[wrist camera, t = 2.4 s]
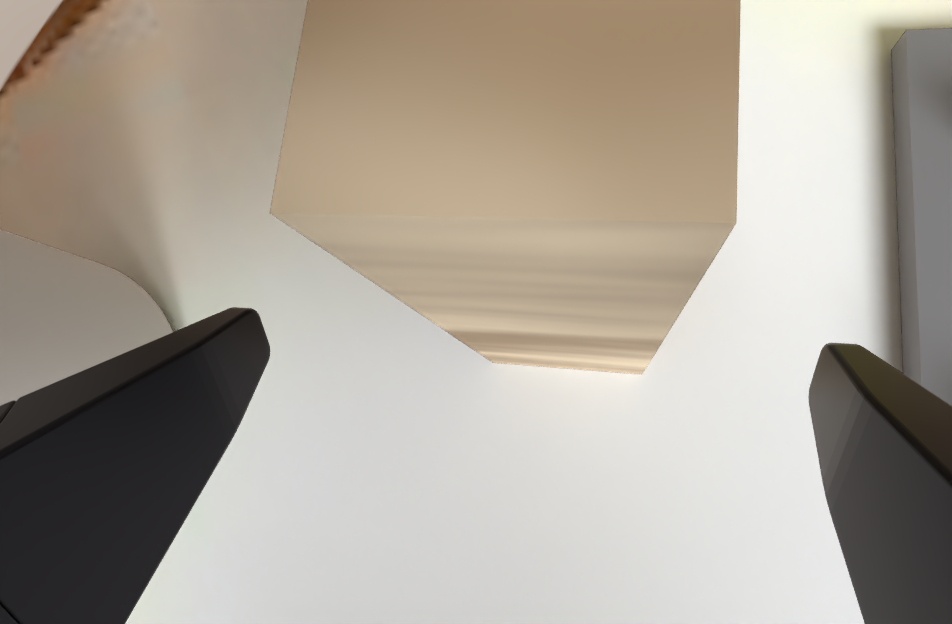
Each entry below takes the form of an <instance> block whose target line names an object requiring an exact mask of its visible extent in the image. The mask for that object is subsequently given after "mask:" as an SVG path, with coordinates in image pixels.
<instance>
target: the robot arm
mask: <svg viewBox="0 0 952 624" xmlns="http://www.w3.org/2000/svg"><path fill="white" fill-rule="evenodd" d="M269 357H270V346H269V342H268V339H267V336H266V333H265V331H264V328H263V325H262V322H261V319H260V316H259V314H258V313H257V312H256V311H255V310H254V309H251V308H237V307H233V308H229V309H227V310H224V311H222V312H220V313H217V314H215V315H212V316H210V317H208V318H205V319H203V320H201V321H198V322H196V323H194V324H191V325H189V326H187V327H184V328H182V329H180V330H177V331H175V332H173V333H170V334H168V335H165V336H163V337H161V338H158V339H156V340H154V341H151V342H149V343H147V344H144V345H142V346H140V347H137V348H135V349H133V350H130V351H128V352H125V353H123V354H121V355H118V356H116V357H114V358H111V359H109V360H107V361H104V362H102V363H100V364H97V365H95V366H93V367H90V368H88V369H85V370H83V371H81V372H78V373H76V374H74V375H71V376H69V377H67V378H64V379H62V380H60V381H57V382H55V383H53V384H50V385H48V386H45V387H43V388H41V389H38V390H36V391H34V392H31V393H29V394H27V395H24V396H22V397H20V398H19V399H18V400H17V401H15V400H13V401H10V402H8V403H5V404H3V405H1V406H0V624H125V623H126V621H127V619H128V618H129V616H130V614H131V612H132V611H133V609H134V607H135V605H136V604H137V602H138V600H139V599H140V597H141V595H142V593H143V592H144V590H145V588H146V587H147V585H148V583H149V581H150V580H151V578H152V576H153V574H154V573H155V571H156V569H157V568H158V566H159V564H160V562H161V561H162V559H163V557H164V556H165V554H166V552H167V550H168V549H169V547H170V545H171V544H172V542H173V540H174V538H175V537H176V535H177V533H178V531H179V530H180V528H181V526H182V525H183V523H184V521H185V519H186V518H187V516H188V514H189V513H190V511H191V509H192V507H193V506H194V504H195V502H196V500H197V499H198V497H199V495H200V494H201V492H202V490H203V488H204V487H205V485H206V483H207V482H208V480H209V478H210V476H211V475H212V473H213V471H214V469H215V468H216V466H217V464H218V463H219V461H220V459H221V457H222V456H223V454H224V452H225V451H226V449H227V447H228V445H229V444H230V442H231V440H232V438H233V436H234V435H235V433H236V431H237V429H238V427H239V425H240V423H241V421H242V418H243V416H244V414H245V412H246V410H247V407H248V405H249V403H250V401H251V398H252V396H253V394H254V392H255V390H256V387H257V385H258V383H259V381H260V378H261V376H262V374H263V372H264V369H265V367H266V365H267V363H268V360H269ZM809 406H810V412H811V418H812V424H813V429H814V435H815V441H816V447H817V452H818V458H819V464H820V469H821V475H822V481H823V486H824V491H825V496H826V500H827V503H828V507H829V510H830V514H831V517H832V520H833V524H834V527H835V530H836V533H837V536H838V540H839V543H840V546H841V549H842V552H843V555H844V559H845V562H846V565H847V568H848V571H849V575H850V578H851V581H852V584H853V587H854V591H855V594H856V597H857V600H858V603H859V607H860V610H861V613H862V616H863V619H864V623H865V624H952V406H951V405H950V404H948V403H947V402H945V401H944V400H942V399H941V398H939V397H938V396H936V395H935V394H933V393H932V392H930V391H929V390H927V389H926V388H924V387H923V386H921V385H920V384H918V383H917V382H915V381H914V380H912V379H911V378H909V377H908V376H906V375H904V374H903V373H901V372H900V371H898V370H897V369H895V368H894V367H892V366H891V365H889V364H888V363H886V362H885V361H883V360H882V359H880V358H879V357H877V356H876V355H874V354H873V353H871V352H870V351H868V350H867V349H865V348H864V347H862V346H860V345H857V344H844V343H828V344H826V345H825V346H824V347H823V348H822V350H821V353H820V356H819V359H818V362H817V365H816V369H815V372H814V375H813V378H812V381H811V385H810V389H809Z"/></svg>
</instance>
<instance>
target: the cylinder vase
mask: <svg viewBox="0 0 952 624" xmlns="http://www.w3.org/2000/svg"><path fill="white" fill-rule="evenodd" d="M170 333H173V331H172V328H171V326H170V324H169V322H168V320H167V319H166V317H165V315H164V314H163V312H162V310H161V309H160V307H159V306H158V305H157V303H156V302H155V301H154V300H153V298H152V297H151V296H150V295H149V294H148V293H147V292H146V291H145V290H144V289H143V288H142V287H141V286H139V285H138V284H137V283H136V282H135V281H133V280H132V279H130V278H129V277H127V276H126V275H124V274H122V273H121V272H119V271H117V270H115V269H113V268H110V267H108V266H105V265H103V264H100V263H97V262H94V261H91V260H88V259H85V258H83V257H80V256H77V255H74V254H71V253H68V252H65V251H62V250H59V249H56V248H54V247H51V246H48V245H45V244H42V243H39V242H36V241H33V240H30V239H28V238H25V237H22V236H19V235H16V234H13V233H10V232H7V231H4V230H1V229H0V406H1V405H3V404H5V403H8V402H10V401H13V400H15V401H17V400H18V399H19V398H20V397H22V396H24V395H27V394H29V393H31V392H34V391H36V390H38V389H41V388H43V387H45V386H48V385H50V384H53V383H55V382H57V381H60V380H62V379H64V378H67V377H69V376H71V375H74V374H76V373H78V372H81V371H83V370H85V369H88V368H90V367H93V366H95V365H97V364H100V363H102V362H104V361H107V360H109V359H111V358H114V357H116V356H118V355H121V354H123V353H125V352H128V351H130V350H133V349H135V348H137V347H140V346H142V345H144V344H147V343H149V342H151V341H154V340H156V339H158V338H161V337H163V336H165V335H168V334H170Z"/></svg>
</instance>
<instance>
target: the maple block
mask: <svg viewBox="0 0 952 624" xmlns="http://www.w3.org/2000/svg"><path fill="white" fill-rule="evenodd" d="M739 48H740V0H308V2H307V8H306V14H305V19H304V25H303V30H302V36H301V41H300V47H299V52H298V58H297V64H296V69H295V75H294V80H293V86H292V91H291V97H290V103H289V108H288V114H287V119H286V125H285V130H284V136H283V142H282V147H281V153H280V158H279V164H278V169H277V175H276V180H275V186H274V192H273V197H272V203H271V208H270V214H272V215H273V216H275V217H276V218H278V219H279V220H281V221H282V222H284V223H285V224H287V225H288V226H290V227H291V228H293V229H294V230H296V231H297V232H299V233H300V234H302V235H303V236H305V237H306V238H308V239H309V240H311V241H312V242H314V243H315V244H317V245H318V246H319V247H321V248H322V249H324V250H325V251H327V252H328V253H330V254H331V255H333V256H334V257H336V258H337V259H339V260H340V261H342V262H343V263H345V264H346V265H348V266H349V267H351V268H352V269H354V270H355V271H357V272H358V273H360V274H361V275H363V276H364V277H366V278H367V279H369V280H370V281H372V282H373V283H375V284H376V285H378V286H379V287H381V288H382V289H384V290H385V291H387V292H388V293H390V294H391V295H393V296H394V297H395V298H397V299H398V300H400V301H401V302H403V303H404V304H406V305H407V306H409V307H410V308H412V309H413V310H415V311H416V312H418V313H419V314H421V315H422V316H424V317H425V318H427V319H428V320H430V321H431V322H433V323H434V324H436V325H437V326H439V327H440V328H442V329H443V330H445V331H446V332H448V333H449V334H451V335H452V336H454V337H455V338H457V339H458V340H460V341H461V342H463V343H464V344H466V345H467V346H469V347H470V348H471V349H473V350H474V351H476V352H477V353H479V354H480V355H482V356H483V357H485V358H486V359H488V360H489V361H491V362H492V363H504V364H517V365H529V366H542V367H554V368H567V369H579V370H592V371H604V372H617V373H630V374H643V372H644V371H645V369H646V367H647V366H648V364H649V363H650V361H651V359H652V358H653V356H654V355H655V353H656V351H657V350H658V348H659V347H660V345H661V343H662V342H663V340H664V339H665V337H666V335H667V334H668V332H669V331H670V329H671V327H672V326H673V324H674V322H675V321H676V319H677V318H678V316H679V314H680V313H681V311H682V310H683V308H684V306H685V305H686V303H687V302H688V300H689V298H690V297H691V295H692V294H693V292H694V290H695V289H696V287H697V286H698V284H699V282H700V281H701V279H702V277H703V276H704V274H705V273H706V271H707V269H708V268H709V266H710V265H711V263H712V261H713V260H714V258H715V257H716V255H717V253H718V252H719V250H720V249H721V247H722V245H723V244H724V242H725V241H726V239H727V237H728V236H729V234H730V232H731V231H732V229H733V228H734V226H735V224H736V210H737V156H738V102H739Z"/></svg>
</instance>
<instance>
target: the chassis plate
mask: <svg viewBox="0 0 952 624" xmlns="http://www.w3.org/2000/svg"><path fill="white" fill-rule="evenodd" d="M891 56H892V82H893V109H894V136H895V163H896V190H897V216H898V243H899V270H900V297H901V324H902V350H903V374H904V375H906V376H908V377H909V378H911V379H912V380H914V381H915V382H917V383H918V384H920V385H921V386H923V387H924V388H926V389H927V390H929V391H930V392H932V393H933V394H935V395H936V396H938V397H939V398H941V399H942V400H944V401H945V402H947V403H948V404H950V405H951V406H952V28H942V29H920V30H906V31H905V33H904V34H903V35H902V37H901V38H900V39H899V41H898V42H897V43H896V45H895V46H894V47H893V49H892V50H891Z"/></svg>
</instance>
